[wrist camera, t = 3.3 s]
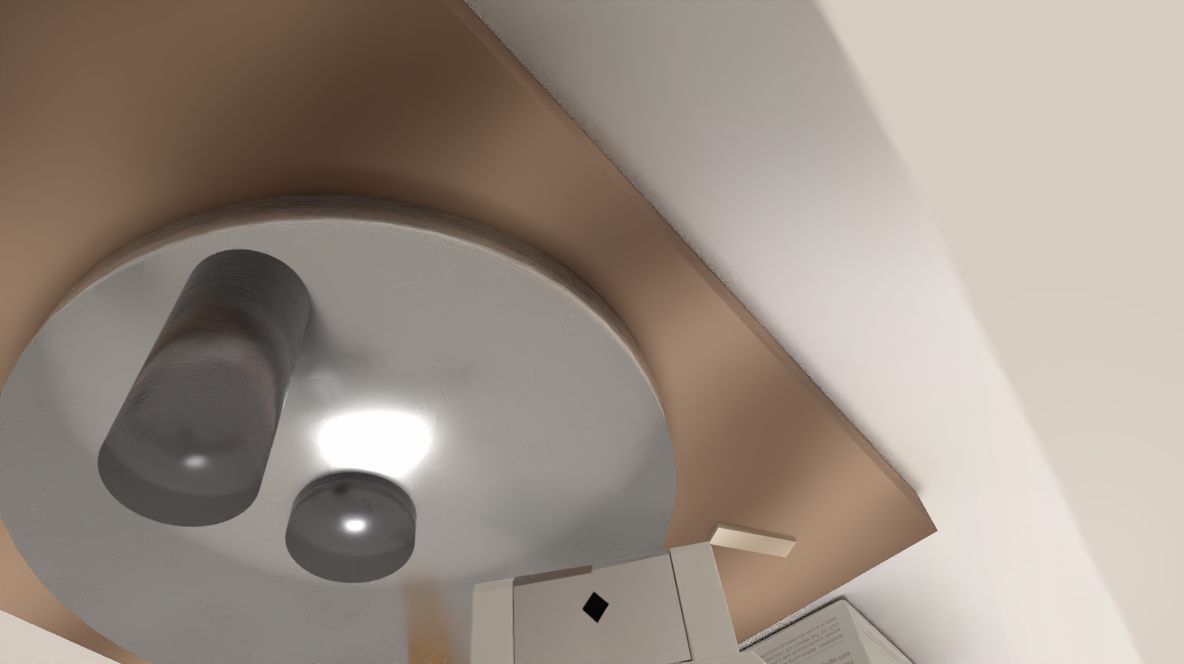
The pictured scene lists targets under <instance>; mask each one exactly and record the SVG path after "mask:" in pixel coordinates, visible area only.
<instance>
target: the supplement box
mask: <svg viewBox="0 0 1184 664" xmlns="http://www.w3.org/2000/svg"><path fill="white" fill-rule="evenodd" d="M745 651H753V652H754V653H755V654H756V655H758V656H759V657H760V658H761V659H762V660H763V661H764V662H766V663H767V664H913V663H912V662H911V661H910V660H909V659H908V658H907V657H905V656H904V655H903V654H902V653H901V652H900V651H899V650H898V649H897V648H896V647H895V646H894V645H893V644H892V643H891V642H889V641H888V640H887V639H886V638H885V637H884V636H883V635H882V634H881V633H880V632H879V631H878V630H877V629H876V628H875V627H873V626H872V625H871V624H870V623H869V622H868V621H867V620H866V619H865V618H864V617H863V616H862V615H861V614H859V613H858V612H857V611H856V610H855V609H854V608H853V607H852V606H851V605H850V604H849V603H848V602H847V601H845V600H839V601H837V602H835V603H833V604H831V605H829V606H827V607H825V608H823V609H821V610H819V611H817V612H815V613H813V614H812V615H810V616H808V617H806V618H804V619H802V620H800V621H798V622H796V623H795V624H793V625H791V626H789V627H787V628H785V629H783V630H781V631H779V632H777V633H775V634H773V635H772V636H770V637H768V638H766V639H765V640H763V641H761V642H759V643H756V644H754V645H753V646H751V647H749V648H747V649H745V650H743V651H742V652H745Z"/></svg>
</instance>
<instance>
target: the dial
mask: <svg viewBox="0 0 1184 664" xmlns="http://www.w3.org/2000/svg"><path fill="white" fill-rule="evenodd" d="M675 492H676V470H675V457H674V450H673V446H672V442H671V438H670V434H669V431H668V427H667V423H666V419H665V415H664V411H663V408H662V404H661V400H660V396H659V392H658V388H657V385H656V381H655V379H654V377H653V375H652V373H651V370H650V368H649V366H648V364H647V361H646V359H645V357H644V355H643V353H642V351H641V349H640V348H639V346H638V345H637V343H636V342H635V340H634V339H633V337H632V336H631V334H630V333H629V331H628V330H627V328H626V327H625V325H624V324H623V322H622V321H621V320H620V319H619V318H618V317H617V316H616V314H615V313H614V312H613V311H612V310H611V309H610V308H609V307H608V306H607V304H606V303H605V302H604V301H603V300H602V299H601V298H600V297H599V296H598V295H597V293H595V292H594V291H593V290H592V289H591V288H589V287H588V286H587V285H586V284H585V283H583V282H582V281H581V280H580V279H579V278H577V277H576V276H575V275H574V274H573V273H571V272H570V271H569V270H568V269H567V268H565V267H564V266H562V265H561V264H559V263H557V262H556V261H554V260H553V259H551V258H550V257H548V256H546V255H545V254H543V253H542V252H540V251H538V250H537V249H535V248H534V247H532V246H531V245H529V244H527V243H525V242H523V241H521V240H519V239H517V238H514V237H512V236H510V235H508V234H506V233H504V232H502V231H499V230H497V229H495V228H493V227H491V226H489V225H487V224H484V223H481V222H478V221H475V220H472V219H469V218H466V217H463V216H460V215H457V214H454V213H451V212H448V211H445V210H442V209H439V208H434V207H429V206H424V205H419V204H415V203H410V202H405V201H400V200H395V199H390V198H381V197H370V196H359V195H348V194H304V195H282V196H276V197H269V198H262V199H255V200H248V201H241V202H235V203H231V204H228V205H224V206H221V207H217V208H213V209H210V210H206V211H202V212H199V213H195V214H192V215H188V216H186V217H183V218H181V219H179V220H176V221H174V222H172V223H169V224H167V225H165V226H162V227H160V228H157V229H155V230H153V231H150V232H148V233H146V234H144V235H142V236H141V237H139V238H137V239H136V240H134V241H132V242H131V243H129V244H127V245H126V246H124V247H123V248H121V249H119V250H118V251H116V252H114V253H113V254H111V255H109V256H108V257H106V258H105V259H104V260H103V261H102V262H100V263H99V264H98V265H97V266H96V267H95V268H93V269H92V270H91V271H90V272H89V273H88V274H86V275H85V276H84V277H83V278H82V279H80V280H79V281H78V282H77V283H76V284H75V285H74V286H73V287H72V288H71V290H70V291H69V292H68V293H67V294H66V296H65V297H64V298H63V299H62V300H61V302H60V303H59V304H58V305H57V306H56V308H55V309H54V310H53V311H52V312H51V314H50V315H49V316H48V318H47V319H46V321H45V322H44V323H43V325H42V326H41V328H40V329H39V330H38V332H37V333H36V335H35V336H34V337H33V339H32V340H31V341H30V343H29V344H28V346H27V347H26V348H25V350H24V351H23V353H22V354H21V356H20V357H19V359H18V361H17V363H16V365H15V367H14V368H13V370H12V372H11V374H10V376H9V377H8V379H7V381H6V383H5V385H4V387H3V389H2V392H1V395H0V514H1V517H2V520H3V523H4V525H5V527H6V529H7V531H8V533H9V534H10V536H11V538H12V540H13V542H14V544H15V546H16V548H17V550H18V552H19V553H20V555H21V556H22V557H23V559H24V560H25V562H26V563H27V564H28V566H29V567H30V568H31V570H32V571H33V572H34V574H35V575H36V577H37V578H38V579H39V581H40V582H41V583H42V584H43V585H44V586H45V587H46V588H47V589H48V590H49V591H50V592H51V593H52V594H53V595H54V596H55V597H56V598H57V599H58V600H59V601H60V602H61V603H62V604H63V605H64V606H65V607H66V608H67V609H68V610H70V611H71V612H72V613H73V614H75V615H76V616H77V617H78V618H80V619H81V620H82V621H83V622H85V623H86V624H87V625H88V626H89V627H91V628H92V629H93V630H95V631H97V632H98V633H100V634H101V635H103V636H104V637H106V638H107V639H109V640H111V641H112V642H114V643H115V644H117V645H118V646H120V647H121V648H123V649H125V650H127V651H129V652H131V653H133V654H135V655H137V656H139V657H141V658H143V659H144V660H146V661H148V662H150V663H152V664H469V661H470V630H471V599H472V593H473V590H474V587H475V584H480V583H486V582H492V581H497V580H503V579H509V578H515V577H519V576H525V575H532V574H538V573H544V572H550V571H556V570H563V569H569V568H575V567H581V566H588V565H592V563H597V562H602V561H607V560H612V559H617V558H622V557H627V556H632V555H637V554H642V553H647V552H652V551H657V550H661V548H662V546H663V544H664V542H665V539H666V536H667V532H668V529H669V525H670V522H671V518H672V515H673V511H674V501H675Z"/></svg>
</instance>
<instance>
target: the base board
mask: <svg viewBox="0 0 1184 664" xmlns="http://www.w3.org/2000/svg"><path fill="white" fill-rule="evenodd" d="M304 194H348V195H359V196H370V197H381V198H390V199H395V200H400V201H405V202H410V203H415V204H419V205H424V206H429V207H434V208H439V209H442V210H445V211H448V212H451V213H454V214H457V215H460V216H463V217H466V218H469V219H472V220H475V221H478V222H481V223H484V224H487V225H489V226H491V227H493V228H495V229H497V230H499V231H502V232H504V233H506V234H508V235H510V236H512V237H514V238H517V239H519V240H521V241H523V242H525V243H527V244H529V245H531V246H532V247H534V248H535V249H537V250H538V251H540V252H542V253H543V254H545V255H546V256H548V257H550V258H551V259H553V260H554V261H556V262H557V263H559V264H561V265H562V266H564V267H565V268H567V269H568V270H569V271H570V272H571V273H573V274H574V275H575V276H576V277H577V278H579V279H580V280H581V281H582V282H583V283H585V284H586V285H587V286H588V287H589V288H591V289H592V290H593V291H594V292H595V293H597V295H598V296H599V297H600V298H601V299H602V300H603V301H604V302H605V303H606V304H607V306H608V307H609V308H610V309H611V310H612V311H613V312H614V313H615V314H616V316H617V317H618V318H619V319H620V320H621V321H622V322H623V324H624V325H625V327H626V328H627V330H628V331H629V333H630V334H631V336H632V337H633V339H634V340H635V342H636V343H637V345H638V346H639V348H640V349H641V351H642V353H643V355H644V357H645V359H646V361H647V364H648V366H649V368H650V370H651V373H652V375H653V377H654V379H655V381H656V385H657V388H658V392H659V396H660V400H661V404H662V408H663V411H664V415H665V419H666V423H667V427H668V431H669V434H670V438H671V442H672V446H673V450H674V457H675V470H676V492H675V501H674V511H673V515H672V518H671V522H670V525H669V529H668V532H667V536H666V539H665V542H664V544H663V546H662V548H661V550H662V549H667V548H668V551H669V549H670V548H675V547H680V546H686V545H691V544H696V543H701V542H707V541H708V542H709V544H710V545H711V547H712V550H713V553H714V557H715V561H716V565H717V568H718V572H719V576H720V580H721V583H722V587H723V591H724V595H725V598H726V602H727V606H728V610H729V614H730V617H731V621H732V625H733V629H734V632H735V636H736V640H737V644H740V643H742V642H744V641H745V640H747V639H749V638H751V637H752V636H754V635H756V634H758V633H759V632H761V631H763V630H765V629H766V628H768V627H770V626H772V625H773V624H775V623H777V622H779V621H780V620H782V619H784V618H786V617H787V616H789V615H791V614H793V613H794V612H796V611H798V610H800V609H801V608H803V607H805V606H807V605H808V604H810V603H812V602H814V601H815V600H817V599H819V598H821V597H822V596H824V595H826V594H828V593H829V592H831V591H833V590H835V589H836V588H838V587H840V586H842V585H843V584H845V583H847V582H849V581H850V580H852V579H854V578H856V577H858V576H859V575H861V574H863V573H865V572H866V571H868V570H870V569H872V568H873V567H875V566H877V565H879V564H880V563H882V562H884V561H886V560H887V559H889V558H891V557H893V556H894V555H896V554H898V553H900V552H901V551H903V550H905V549H907V548H908V547H910V546H912V545H914V544H915V543H917V542H919V541H921V540H922V539H924V538H926V537H928V536H929V535H931V534H933V533H935V532H936V531H937V529H936V527H935V525H934V523H933V522H932V520H931V518H930V516H929V514H928V513H927V511H926V509H925V507H924V505H923V504H922V502H921V500H920V498H919V497H918V495H917V494H916V493H915V492H914V491H913V490H912V488H911V487H910V486H909V485H908V484H907V483H906V482H905V481H904V480H903V479H902V478H901V476H900V475H899V474H898V473H897V472H896V471H895V470H894V469H893V468H892V467H891V466H890V465H889V463H888V462H887V461H886V460H885V459H884V458H883V457H882V456H881V455H880V454H879V453H878V451H877V450H876V449H875V448H874V447H873V446H872V445H871V444H870V443H869V442H868V441H867V439H866V438H865V437H864V436H863V435H862V434H861V433H860V432H859V431H858V430H857V429H856V427H855V426H854V425H853V424H852V423H851V422H850V421H849V420H848V419H847V418H846V417H845V416H844V414H843V413H842V412H841V411H840V410H839V409H838V408H837V407H836V406H835V405H834V404H833V402H832V401H831V400H830V399H829V398H828V397H827V396H826V395H825V394H824V393H823V392H822V390H821V389H820V388H819V387H818V386H817V385H816V384H815V383H814V382H813V381H812V380H811V379H810V377H809V376H808V375H807V374H806V373H805V372H804V371H803V370H802V369H801V368H800V367H799V365H798V364H797V363H796V362H795V361H794V360H793V359H792V358H791V357H790V356H789V355H788V353H787V352H786V351H785V350H784V349H783V348H782V347H781V346H780V345H779V344H778V343H777V341H776V340H775V339H774V338H773V337H772V336H771V335H770V334H769V333H768V332H767V331H766V330H765V328H764V327H763V326H762V325H761V324H760V323H759V322H758V321H757V320H756V319H755V318H754V316H753V315H752V314H751V313H750V312H749V311H748V310H747V309H746V308H745V307H744V306H743V304H742V303H741V302H740V301H739V300H738V299H737V298H736V297H735V296H734V295H733V294H732V292H731V291H730V290H729V289H728V288H727V287H726V286H725V285H724V284H723V283H722V282H721V281H720V279H719V278H718V277H717V276H716V275H715V274H714V273H713V272H712V271H711V270H710V269H709V267H708V266H707V265H706V264H705V263H704V262H703V261H702V260H701V259H700V258H699V257H698V255H697V254H696V253H695V252H694V251H693V250H692V249H691V248H690V247H689V246H688V245H687V244H686V242H685V241H684V240H683V239H682V238H681V237H680V236H679V235H678V234H677V233H676V232H675V230H674V229H673V228H672V227H671V226H670V225H669V224H668V223H667V222H666V221H665V220H664V218H663V217H662V216H661V215H660V214H659V213H658V212H657V211H656V210H655V209H654V208H653V206H652V205H651V204H650V203H649V202H648V201H647V200H646V199H645V198H644V197H643V196H642V195H641V193H640V192H639V191H638V190H637V189H636V188H635V187H634V186H633V185H632V184H631V183H630V181H629V180H628V179H627V178H626V177H625V176H624V175H623V174H622V173H621V172H620V171H619V169H618V168H617V167H616V166H615V165H614V164H613V163H612V162H611V161H610V160H609V159H608V158H607V156H606V155H605V154H604V153H603V152H602V151H601V150H600V149H599V148H598V147H597V146H596V144H595V143H594V142H593V141H592V140H591V139H590V138H589V137H588V136H587V135H586V134H585V132H584V131H583V130H582V129H581V128H580V127H579V126H578V125H577V124H576V123H575V122H574V120H573V119H572V118H571V117H570V116H569V115H568V114H567V113H566V112H565V111H564V110H563V109H562V107H561V106H560V105H559V104H558V103H557V102H556V101H555V100H554V99H553V98H552V97H551V95H550V94H549V93H548V92H547V91H546V90H545V89H544V88H543V87H542V86H541V85H540V83H539V82H538V81H537V80H536V79H535V78H534V77H533V76H532V75H531V74H530V73H529V71H528V70H527V69H526V68H525V67H524V66H523V65H522V64H521V63H520V62H519V61H518V60H517V58H516V57H515V56H514V55H513V54H512V53H511V52H510V51H509V50H508V49H507V48H506V46H505V45H504V44H503V43H502V42H501V41H500V40H499V39H498V38H497V37H496V36H495V34H494V33H493V32H492V31H491V30H490V29H489V28H488V27H487V26H486V25H485V24H484V23H483V21H482V20H481V19H480V18H479V17H478V16H477V15H476V14H475V13H474V12H473V11H472V9H471V8H470V7H469V6H468V5H467V4H466V3H465V2H464V1H463V0H0V395H1V392H2V389H3V387H4V385H5V383H6V381H7V379H8V377H9V376H10V374H11V372H12V370H13V368H14V367H15V365H16V363H17V361H18V359H19V357H20V356H21V354H22V353H23V351H24V350H25V348H26V347H27V346H28V344H29V343H30V341H31V340H32V339H33V337H34V336H35V335H36V333H37V332H38V330H39V329H40V328H41V326H42V325H43V323H44V322H45V321H46V319H47V318H48V316H49V315H50V314H51V312H52V311H53V310H54V309H55V308H56V306H57V305H58V304H59V303H60V302H61V300H62V299H63V298H64V297H65V296H66V294H67V293H68V292H69V291H70V290H71V288H72V287H73V286H74V285H75V284H76V283H77V282H78V281H79V280H80V279H82V278H83V277H84V276H85V275H86V274H88V273H89V272H90V271H91V270H92V269H93V268H95V267H96V266H97V265H98V264H99V263H100V262H102V261H103V260H104V259H105V258H106V257H108V256H109V255H111V254H113V253H114V252H116V251H118V250H119V249H121V248H123V247H124V246H126V245H127V244H129V243H131V242H132V241H134V240H136V239H137V238H139V237H141V236H142V235H144V234H146V233H148V232H150V231H153V230H155V229H157V228H160V227H162V226H165V225H167V224H169V223H172V222H174V221H176V220H179V219H181V218H183V217H186V216H188V215H192V214H195V213H199V212H202V211H206V210H210V209H213V208H217V207H221V206H224V205H228V204H231V203H235V202H241V201H248V200H255V199H262V198H269V197H276V196H282V195H304ZM0 610H2V611H5V612H7V613H9V614H11V615H13V616H16V617H18V618H20V619H22V620H25V621H27V622H29V623H31V624H34V625H36V626H38V627H40V628H43V629H45V630H47V631H49V632H52V633H54V634H56V635H58V636H60V637H63V638H65V639H67V640H69V641H72V642H74V643H76V644H78V645H81V646H83V647H85V648H87V649H90V650H92V651H94V652H96V653H98V654H101V655H103V656H105V657H107V658H110V659H112V660H114V661H116V662H119V663H121V664H152V663H150V662H148V661H146V660H144V659H143V658H141V657H139V656H137V655H135V654H133V653H131V652H129V651H127V650H125V649H123V648H121V647H120V646H118V645H117V644H115V643H114V642H112V641H111V640H109V639H107V638H106V637H104V636H103V635H101V634H100V633H98V632H97V631H95V630H93V629H92V628H91V627H89V626H88V625H87V624H86V623H85V622H83V621H82V620H81V619H80V618H78V617H77V616H76V615H75V614H73V613H72V612H71V611H70V610H68V609H67V608H66V607H65V606H64V605H63V604H62V603H61V602H60V601H59V600H58V599H57V598H56V597H55V596H54V595H53V594H52V593H51V592H50V591H49V590H48V589H47V588H46V587H45V586H44V585H43V584H42V583H41V582H40V581H39V579H38V578H37V577H36V575H35V574H34V572H33V571H32V570H31V568H30V567H29V566H28V564H27V563H26V562H25V560H24V559H23V557H22V556H21V555H20V553H19V552H18V550H17V548H16V546H15V544H14V542H13V540H12V538H11V536H10V534H9V533H8V531H7V529H6V527H5V525H4V523H3V520H2V517H1V514H0Z"/></svg>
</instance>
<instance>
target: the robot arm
mask: <svg viewBox="0 0 1184 664" xmlns="http://www.w3.org/2000/svg"><path fill="white" fill-rule="evenodd" d="M469 664H767V663H766V662H764V661H763V660H762V659H761V658H760V657H759V656H758V655H756V654H755V653H754V652H753V651H745V652H740V651H739V647H738V644H737V640H736V636H735V632H734V629H733V625H732V621H731V617H730V614H729V610H728V606H727V602H726V598H725V595H724V591H723V587H722V583H721V580H720V576H719V572H718V568H717V565H716V561H715V557H714V553H713V550H712V547H711V545H710V544H709V542H708V541H707V542H701V543H696V544H691V545H686V546H680V547H675V548H670V549H669V551H668V548H667V549H662V550H657V551H652V552H647V553H642V554H637V555H632V556H627V557H622V558H617V559H612V560H607V561H602V562H597V563H592V565H588V566H581V567H575V568H569V569H563V570H556V571H550V572H544V573H538V574H532V575H525V576H519V577H515V578H509V579H503V580H497V581H492V582H486V583H480V584H475V587H474V590H473V593H472V599H471V630H470V661H469Z"/></svg>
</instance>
